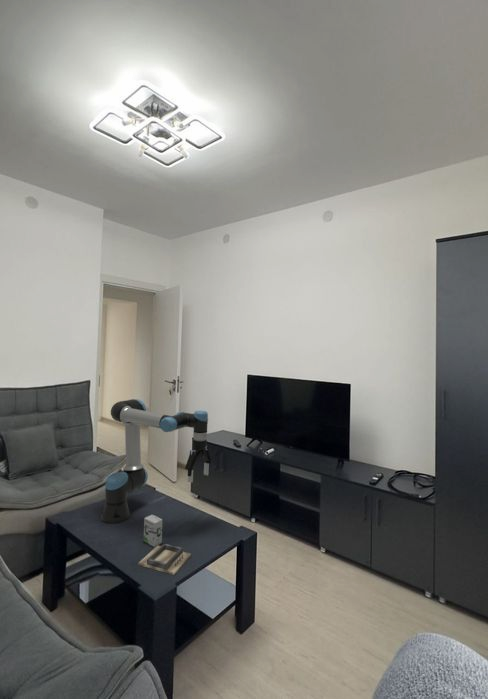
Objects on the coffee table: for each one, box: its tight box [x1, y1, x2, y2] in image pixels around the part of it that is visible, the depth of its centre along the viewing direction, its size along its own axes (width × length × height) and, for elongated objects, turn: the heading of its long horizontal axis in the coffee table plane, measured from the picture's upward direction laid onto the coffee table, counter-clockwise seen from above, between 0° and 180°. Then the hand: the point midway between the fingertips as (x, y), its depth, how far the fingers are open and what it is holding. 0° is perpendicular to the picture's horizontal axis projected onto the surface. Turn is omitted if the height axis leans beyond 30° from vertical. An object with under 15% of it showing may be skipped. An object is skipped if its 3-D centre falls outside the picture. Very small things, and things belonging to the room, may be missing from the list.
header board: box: [138, 543, 192, 576], centre depth 157 cm, size 18×15×3 cm
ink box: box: [142, 514, 163, 548], centre depth 172 cm, size 9×5×12 cm, turn 56°
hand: (198, 478), depth 190 cm, fingers open, 13 cm apart
